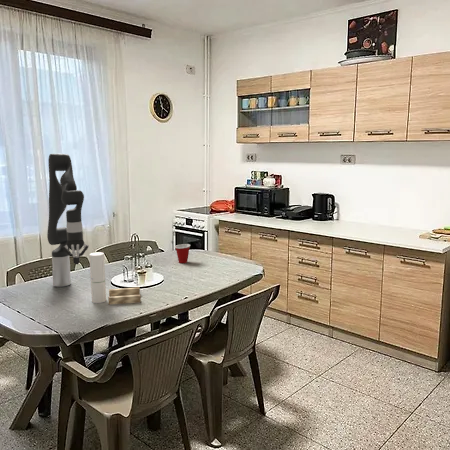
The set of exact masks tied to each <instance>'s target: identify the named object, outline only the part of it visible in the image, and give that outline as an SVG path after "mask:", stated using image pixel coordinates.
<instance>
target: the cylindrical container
mask: <svg viewBox="0 0 450 450" xmlns="http://www.w3.org/2000/svg"><path fill="white" fill-rule="evenodd" d="M88 256H89V271H90V288H91V289H90V290H91V292H90V293H91V302H92V303H94V304H102V303H105V302H107V293H106V292H107V291H106V290H107V289H106V288H107V287H106V268H105V253H104V252H101V251H99V252H98V251H97V252H91V253H89V255H88Z"/></svg>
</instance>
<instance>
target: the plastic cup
mask: <svg viewBox="0 0 450 450" xmlns="http://www.w3.org/2000/svg"><path fill="white" fill-rule="evenodd" d="M190 247H191V244H189V243H182V244H177V245H174V248H175V251H176V256H177V261H178V263H179V264H187V263H188V261H189V260H188V259H189V255H190V253H189V252H190Z"/></svg>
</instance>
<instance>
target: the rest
mask: <svg viewBox="0 0 450 450" xmlns="http://www.w3.org/2000/svg"><path fill="white" fill-rule="evenodd" d="M107 297H108V298H107V299H108V305H123V304H134V303H135V304H137V303H141V301H142V299H141V297H142V296H141V289H140V287H138V286H137V287H124V288H122V287H121V288H110V289H108V296H107Z"/></svg>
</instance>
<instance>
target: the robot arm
mask: <svg viewBox="0 0 450 450" xmlns="http://www.w3.org/2000/svg"><path fill="white" fill-rule="evenodd" d="M57 172H63V174H62V175H61V177H60V180H59V179H58V177H57V174H56V173H57ZM48 176H49V177H48V179H49V183H48V185H49V186H48V189H49V190H48V221H47V223H48V225H47V234H46V235H47V236H46V237H47V242H48V244H49V245H51V246H57V245H58V246H57V247H56V248H55V249H53V250H52V251H51V260H52V261H51V263H52V270H51V271H52V272H51V274H52V286H53V287H56V288H57V287H58V288H60V287H67V286H69V285H71V284H72V281H71V262H70V260H71V259H70V257H72V258H73V259H72V261H73V264H74V265H79V264H80V261H81V260H80V257H83V256H84V254H85V253H86V251H87V250H88V248H89V244H86V243H85V241H84V231H83V229H84V228H83V223H82V222H83V221H82V210H83V209H82V208H83V204H84V200H85V194H84V192H83V191H82V190H79V189H78V190H77V188H78V187H77V184H76V181H75V178H74V171H73V165H72V160H71V156H70V155H69V154H67V153H50V154H49V156H48ZM67 206H75V207H74V208H70V209H69V210H66V208H67ZM65 210H66V212H65ZM64 212H65V214H66V215H65V216H66V217H65V218H66V225H65V226H66V227H65V226H63V227H62V226H61V227H58V223H59V220H60V218H61V217H62V215H63V214H64ZM82 248H83V250H82V251H81V252H80V250H81V249H82ZM70 250H71V251H70Z"/></svg>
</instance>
